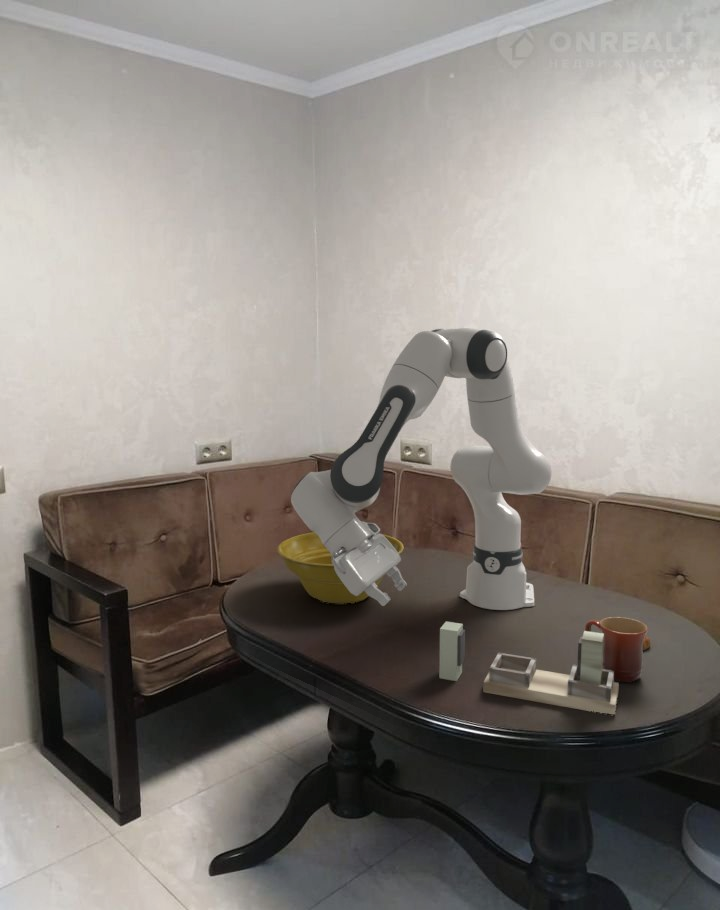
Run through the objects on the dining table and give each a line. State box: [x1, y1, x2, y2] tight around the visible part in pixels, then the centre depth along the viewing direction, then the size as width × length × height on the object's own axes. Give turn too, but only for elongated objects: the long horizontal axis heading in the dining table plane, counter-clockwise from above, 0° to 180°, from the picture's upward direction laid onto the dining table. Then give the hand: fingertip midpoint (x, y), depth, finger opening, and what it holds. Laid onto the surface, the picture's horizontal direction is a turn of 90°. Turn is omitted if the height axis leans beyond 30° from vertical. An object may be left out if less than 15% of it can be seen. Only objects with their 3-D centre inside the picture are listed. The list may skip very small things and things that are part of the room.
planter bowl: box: [276, 531, 405, 605], centre depth 186 cm, size 32×32×13 cm
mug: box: [584, 616, 649, 683], centre depth 140 cm, size 12×9×10 cm
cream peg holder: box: [482, 630, 620, 715], centre depth 132 cm, size 9×23×12 cm, turn 67°
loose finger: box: [438, 621, 466, 682], centre depth 140 cm, size 4×4×10 cm
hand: (395, 595), depth 143 cm, fingers open, 8 cm apart
